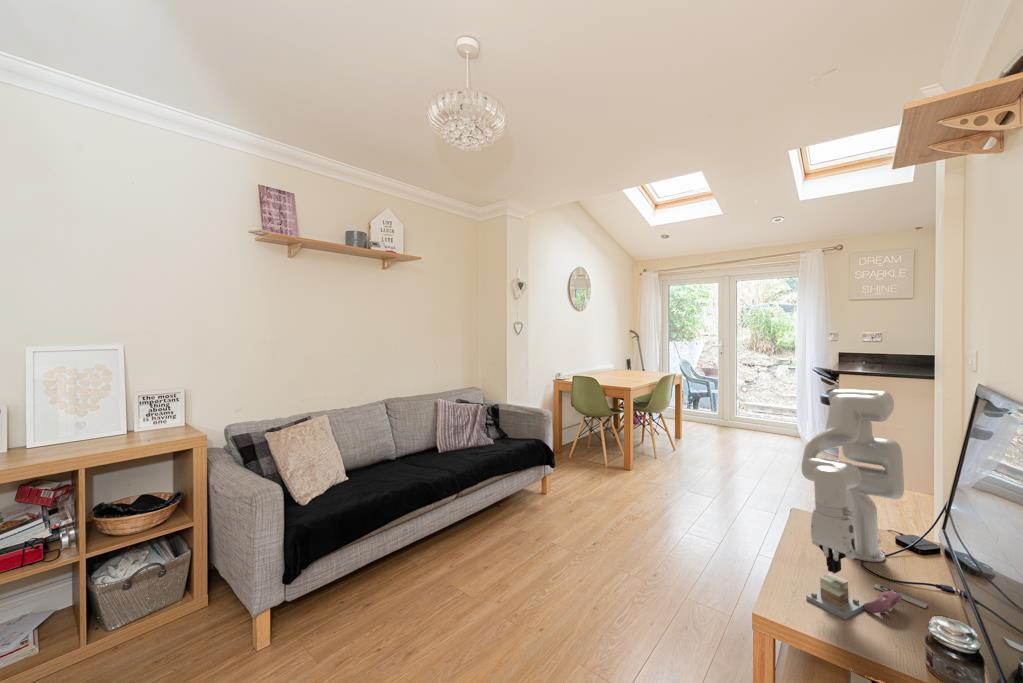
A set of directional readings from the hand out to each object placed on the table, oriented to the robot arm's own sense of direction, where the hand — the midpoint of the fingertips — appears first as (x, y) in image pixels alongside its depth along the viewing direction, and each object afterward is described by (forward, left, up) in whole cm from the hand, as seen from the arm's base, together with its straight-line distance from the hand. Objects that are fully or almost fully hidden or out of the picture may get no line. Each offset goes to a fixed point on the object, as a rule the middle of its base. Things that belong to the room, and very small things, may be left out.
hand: (834, 570), depth 119 cm
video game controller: (-8, +8, -10) cm, 15 cm away
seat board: (+1, 0, -10) cm, 10 cm away
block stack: (+1, 0, -8) cm, 8 cm away
